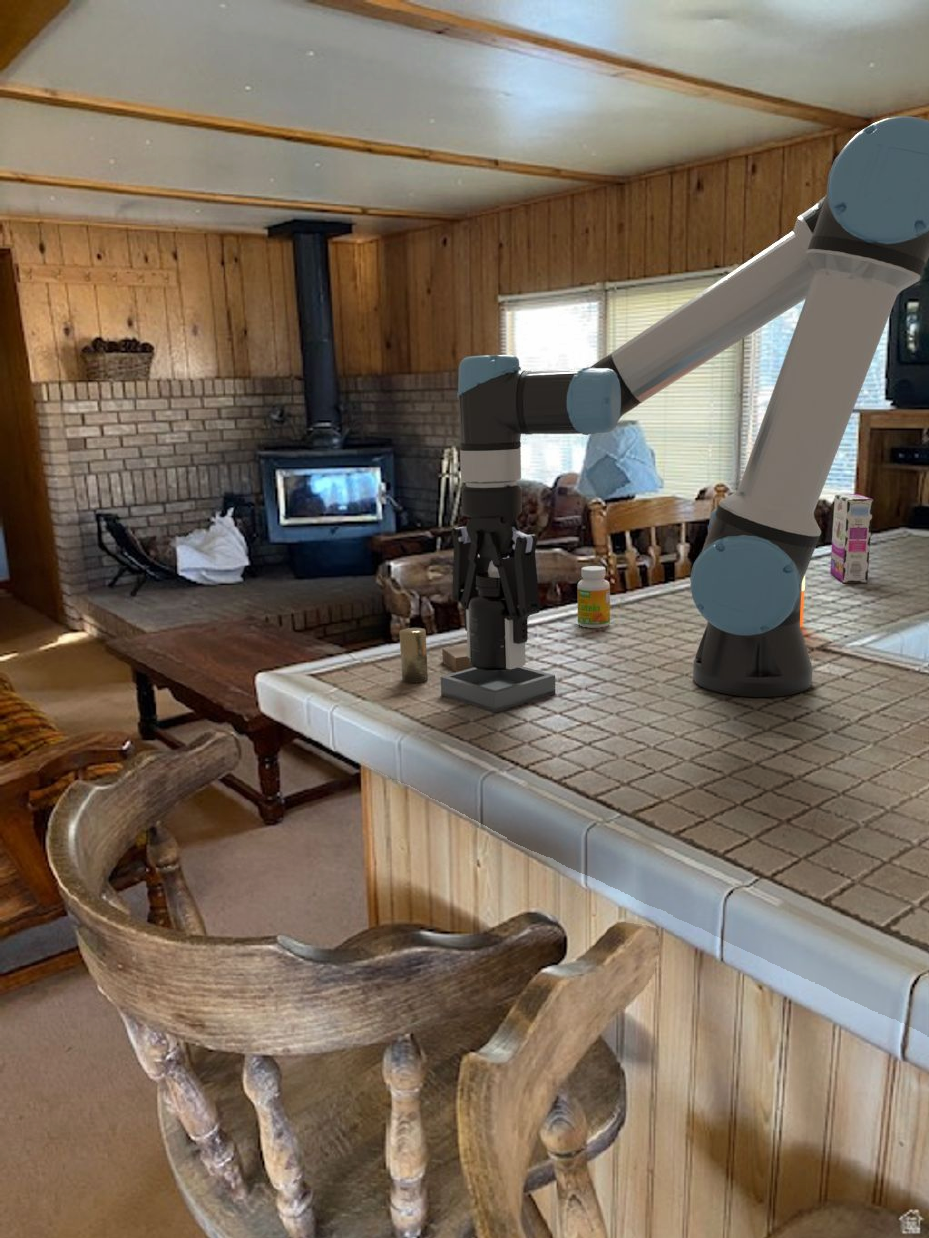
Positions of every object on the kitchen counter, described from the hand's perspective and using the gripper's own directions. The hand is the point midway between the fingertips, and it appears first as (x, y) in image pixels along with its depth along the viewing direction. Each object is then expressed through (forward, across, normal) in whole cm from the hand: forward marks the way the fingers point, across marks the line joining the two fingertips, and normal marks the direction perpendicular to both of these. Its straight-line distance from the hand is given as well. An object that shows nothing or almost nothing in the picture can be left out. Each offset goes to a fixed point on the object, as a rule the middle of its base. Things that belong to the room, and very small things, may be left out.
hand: (496, 661), depth 123 cm
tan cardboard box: (+5, +13, -8) cm, 17 cm away
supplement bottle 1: (+1, 0, 0) cm, 1 cm away
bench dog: (+5, +13, +3) cm, 15 cm away
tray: (+5, 0, 0) cm, 5 cm away
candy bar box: (+5, +4, -99) cm, 99 cm away
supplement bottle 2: (+5, +16, -37) cm, 41 cm away
